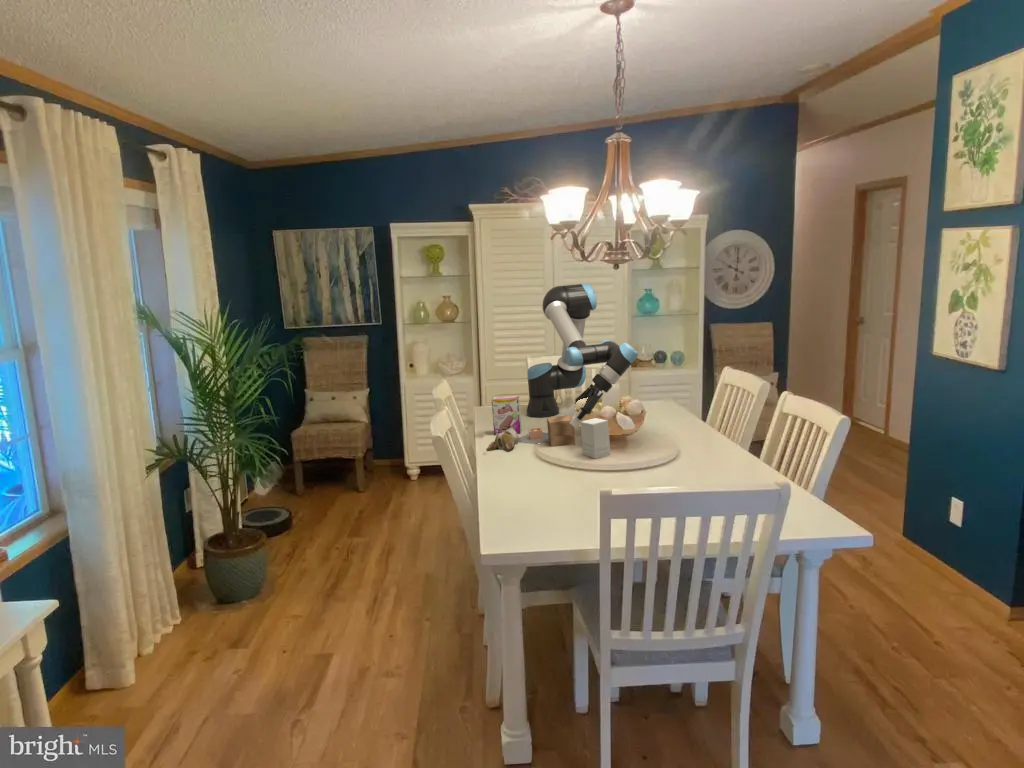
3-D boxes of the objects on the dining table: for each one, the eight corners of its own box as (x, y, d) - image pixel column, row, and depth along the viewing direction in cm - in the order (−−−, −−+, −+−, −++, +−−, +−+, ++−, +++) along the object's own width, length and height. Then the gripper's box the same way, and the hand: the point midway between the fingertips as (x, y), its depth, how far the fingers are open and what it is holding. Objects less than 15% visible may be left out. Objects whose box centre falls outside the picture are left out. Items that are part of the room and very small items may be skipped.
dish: (541, 435, 280) (540, 427, 279) (542, 438, 275) (542, 430, 274) (529, 436, 279) (528, 429, 279) (530, 439, 274) (529, 431, 274)
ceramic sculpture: (523, 423, 271) (508, 435, 257) (526, 444, 272) (511, 457, 259) (499, 423, 275) (482, 434, 262) (501, 443, 277) (485, 456, 264)
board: (532, 434, 288) (532, 431, 287) (561, 437, 279) (561, 434, 279) (510, 444, 275) (510, 441, 275) (539, 447, 267) (539, 444, 266)
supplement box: (611, 454, 248) (609, 420, 246) (594, 459, 245) (592, 424, 243) (598, 451, 255) (596, 417, 253) (582, 455, 251) (579, 421, 249)
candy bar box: (494, 438, 287) (490, 399, 284) (495, 435, 292) (492, 397, 289) (521, 436, 286) (517, 397, 283) (522, 433, 291) (519, 395, 288)
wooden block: (571, 440, 271) (569, 415, 269) (575, 446, 262) (573, 420, 261) (548, 442, 271) (546, 417, 269) (551, 448, 262) (549, 422, 260)
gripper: (592, 368, 275) (557, 409, 277) (605, 377, 251) (567, 422, 252) (606, 380, 276) (571, 420, 278) (620, 390, 252) (582, 434, 253)
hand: (569, 421), depth 265 cm, fingers open, 13 cm apart
